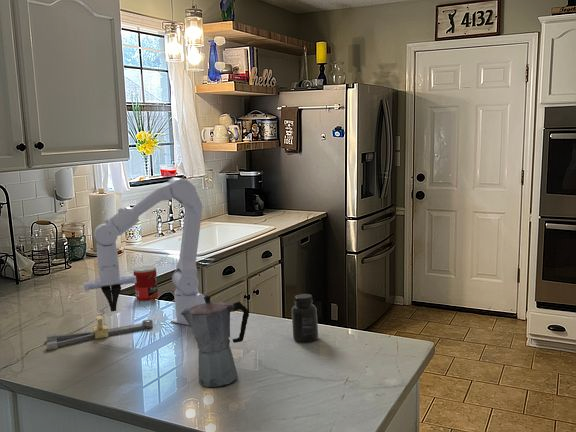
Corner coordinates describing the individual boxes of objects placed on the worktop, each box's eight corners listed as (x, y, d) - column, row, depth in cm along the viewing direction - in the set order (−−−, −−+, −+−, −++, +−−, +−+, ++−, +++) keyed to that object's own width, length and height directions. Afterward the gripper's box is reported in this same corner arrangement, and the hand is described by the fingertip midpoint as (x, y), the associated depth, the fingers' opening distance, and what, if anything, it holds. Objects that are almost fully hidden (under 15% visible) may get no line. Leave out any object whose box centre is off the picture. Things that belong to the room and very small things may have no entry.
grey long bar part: (150, 322, 177) (149, 316, 176) (155, 330, 168) (155, 324, 168) (47, 340, 165) (46, 333, 165) (47, 350, 157) (46, 343, 157)
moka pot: (188, 374, 135) (181, 292, 133) (252, 368, 136) (247, 287, 134) (184, 391, 126) (176, 304, 123) (253, 385, 127) (248, 298, 124)
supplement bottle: (321, 335, 157) (319, 293, 155) (314, 344, 150) (312, 300, 149) (297, 333, 159) (295, 292, 157) (289, 342, 153) (287, 299, 151)
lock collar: (106, 331, 170) (104, 314, 169) (108, 336, 165) (106, 318, 164) (93, 333, 168) (91, 316, 168) (95, 338, 163) (93, 321, 163)
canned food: (153, 301, 201) (150, 270, 199) (132, 301, 202) (129, 270, 201) (162, 295, 208) (159, 265, 207) (141, 295, 210) (139, 265, 208)
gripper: (132, 259, 172) (136, 302, 174) (81, 266, 166) (86, 311, 168) (135, 263, 165) (140, 308, 167) (82, 270, 160) (88, 317, 162)
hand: (113, 310), depth 167 cm, fingers closed
